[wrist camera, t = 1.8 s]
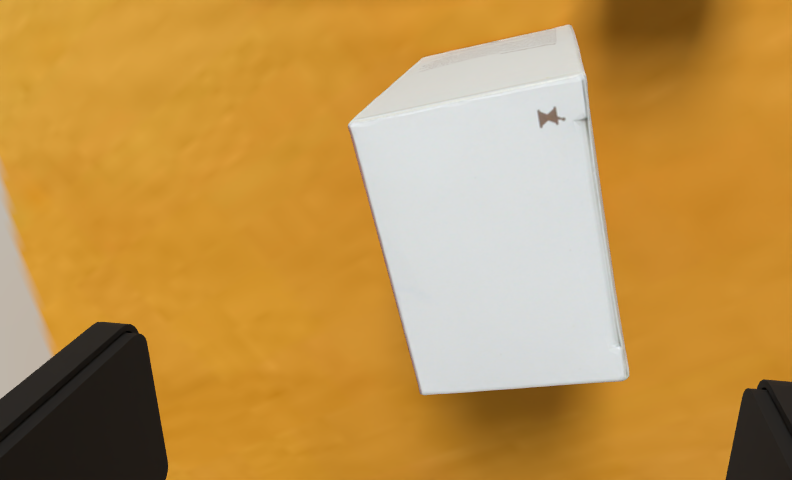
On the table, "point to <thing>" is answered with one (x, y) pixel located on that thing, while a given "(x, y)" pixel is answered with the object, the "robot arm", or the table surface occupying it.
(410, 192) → the small box
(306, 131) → the table surface
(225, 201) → the table surface
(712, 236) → the table surface
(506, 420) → the table surface
